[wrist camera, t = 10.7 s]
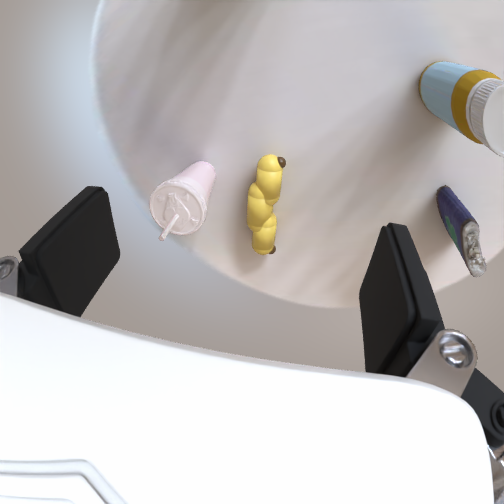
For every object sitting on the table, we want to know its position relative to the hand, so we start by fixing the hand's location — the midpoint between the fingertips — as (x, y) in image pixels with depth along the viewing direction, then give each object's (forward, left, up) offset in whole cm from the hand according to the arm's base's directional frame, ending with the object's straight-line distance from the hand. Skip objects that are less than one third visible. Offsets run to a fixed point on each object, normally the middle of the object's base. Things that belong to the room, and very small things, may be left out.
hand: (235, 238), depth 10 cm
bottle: (-5, +18, -28) cm, 34 cm away
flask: (+11, +24, -28) cm, 39 cm away
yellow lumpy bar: (+14, -2, -28) cm, 32 cm away
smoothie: (+11, -10, -28) cm, 32 cm away
